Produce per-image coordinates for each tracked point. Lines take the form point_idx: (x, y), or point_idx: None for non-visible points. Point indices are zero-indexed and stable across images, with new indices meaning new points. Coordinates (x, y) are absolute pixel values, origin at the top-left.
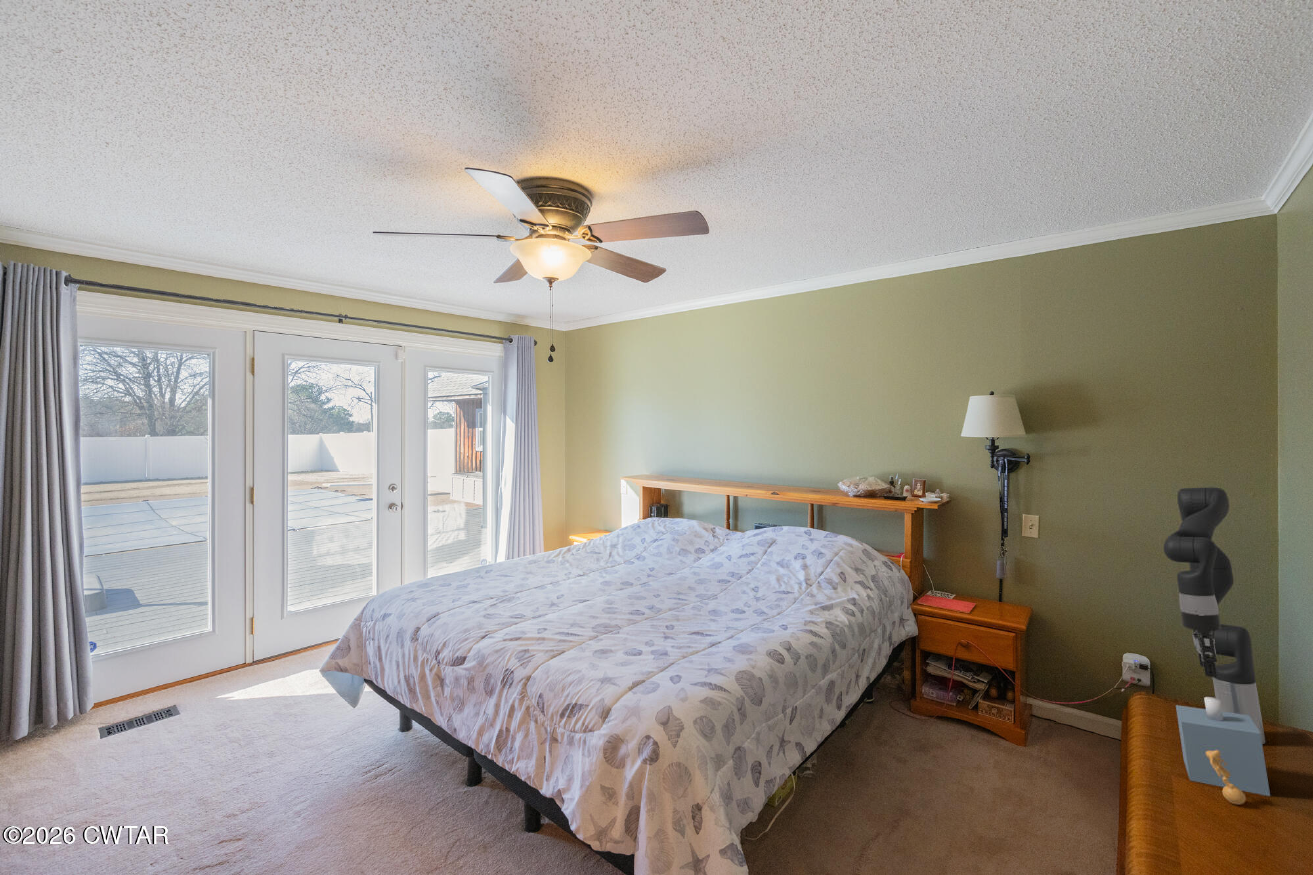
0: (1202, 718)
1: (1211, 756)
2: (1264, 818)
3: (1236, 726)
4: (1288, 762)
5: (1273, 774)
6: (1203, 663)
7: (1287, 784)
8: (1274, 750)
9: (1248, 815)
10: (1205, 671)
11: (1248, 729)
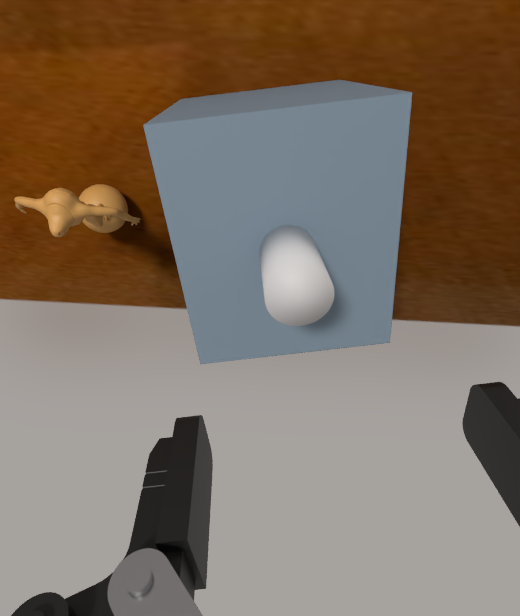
0: (257, 209)
1: (35, 206)
2: (74, 250)
3: (231, 311)
4: (441, 302)
5: None
6: (165, 520)
7: None
8: (509, 284)
9: None
10: (171, 449)
11: (223, 339)
